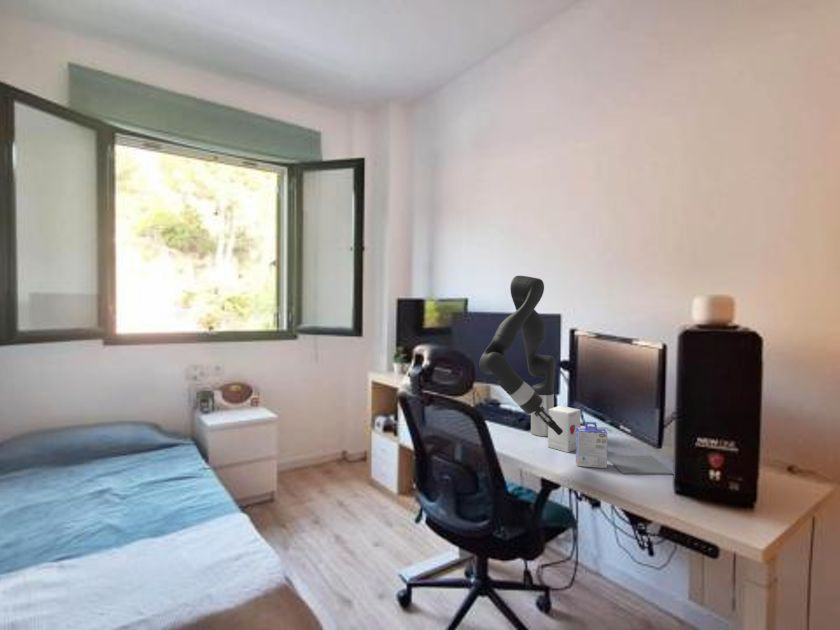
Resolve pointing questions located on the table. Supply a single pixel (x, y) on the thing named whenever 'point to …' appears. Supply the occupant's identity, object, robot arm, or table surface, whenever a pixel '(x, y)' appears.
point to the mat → (638, 464)
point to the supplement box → (564, 428)
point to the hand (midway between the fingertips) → (560, 432)
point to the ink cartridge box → (591, 446)
